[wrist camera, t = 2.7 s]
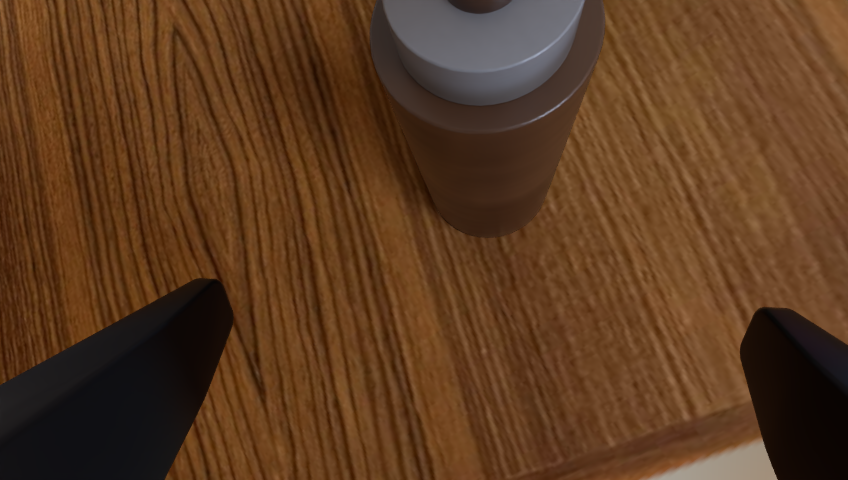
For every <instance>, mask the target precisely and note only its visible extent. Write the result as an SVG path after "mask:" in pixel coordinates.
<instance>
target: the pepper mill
mask: <svg viewBox="0 0 848 480" xmlns="http://www.w3.org/2000/svg"><path fill="white" fill-rule="evenodd" d="M604 34H605V13H604V4H603V1H602V0H377V1H376V4H375V7H374V11H373V15H372V19H371V26H370V48H371V55H372V59H373V63H374V66H375V69H376V72H377V74H378V76H379V79H380V81H381V83H382V86H383V88H384V90H385V92H386V95H387V97H388V99H389V102H390V104H391V106H392V108H393V111H394V113H395V115H396V117H397V120H398V122H399V124H400V127H401V129H402V131H403V133H404V136H405V138H406V140H407V143H408V145H409V147H410V149H411V152H412V154H413V156H414V158H415V161H416V163H417V165H418V168H419V170H420V172H421V174H422V177H423V179H424V181H425V184H426V186H427V188H428V190H429V193H430V195H431V197H432V199H433V202H434V204H435V206H436V208H437V210H438V211H439V213H440V214H441V216H442V217H443V218H444V219H445V220H446V221H447V222H448V223H449V224H450V225H451V226H453V227H454V228H456V229H457V230H459V231H461V232H463V233H466V234H469V235H472V236H477V237H485V238H491V237H499V236H504V235H507V234H510V233H513V232H515V231H517V230H519V229H520V228H522V227H523V226H525V225H526V224H527V223H528V222H530V221H531V220H532V219H533V218H534V216H535V215H536V214H537V213H538V211H539V210H540V208H541V206H542V204H543V202H544V200H545V197H546V195H547V192H548V189H549V187H550V184H551V181H552V179H553V176H554V173H555V171H556V168H557V166H558V163H559V160H560V158H561V155H562V152H563V150H564V147H565V144H566V142H567V139H568V137H569V134H570V131H571V129H572V126H573V123H574V121H575V118H576V115H577V113H578V110H579V107H580V105H581V102H582V100H583V97H584V94H585V92H586V89H587V86H588V84H589V81H590V78H591V76H592V73H593V71H594V68H595V65H596V63H597V60H598V57H599V54H600V51H601V48H602V44H603V39H604Z"/></svg>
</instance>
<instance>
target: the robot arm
mask: <svg viewBox="0 0 848 480" xmlns="http://www.w3.org/2000/svg"><path fill="white" fill-rule="evenodd" d="M233 320H234V316H233V310H232V308H231V305H230V302H229V300H228V297H227V294H226V291H225V289H224V286H223V284H222V283H221V282H220V281H219V280H217V279H207V278H198V279H194V280H192V281H191V282H189V283H187V284H185V285H183V286H181V287H179V288H178V289H176V290H174V291H172V292H170V293H168V294H167V295H165V296H163V297H161V298H159V299H157V300H156V301H154V302H152V303H150V304H148V305H146V306H145V307H143V308H141V309H139V310H137V311H135V312H134V313H132V314H130V315H128V316H126V317H124V318H123V319H121V320H119V321H117V322H115V323H113V324H112V325H110V326H108V327H106V328H104V329H102V330H100V331H99V332H97V333H95V334H93V335H91V336H89V337H88V338H86V339H84V340H82V341H80V342H78V343H77V344H75V345H73V346H71V347H69V348H67V349H66V350H64V351H62V352H60V353H58V354H56V355H55V356H53V357H51V358H49V359H47V360H45V361H44V362H42V363H40V364H38V365H36V366H34V367H32V368H31V369H29V370H27V371H25V372H23V373H21V374H20V375H18V376H16V377H14V378H12V379H10V380H9V381H7V382H5V383H3V384H1V385H0V480H165V478H166V476H167V474H168V472H169V470H170V468H171V466H172V464H173V462H174V460H175V458H176V456H177V454H178V452H179V450H180V448H181V446H182V444H183V442H184V440H185V438H186V436H187V434H188V432H189V430H190V428H191V426H192V424H193V422H194V420H195V418H196V416H197V414H198V412H199V409H200V407H201V405H202V403H203V401H204V399H205V396H206V394H207V392H208V389H209V387H210V384H211V381H212V379H213V376H214V373H215V371H216V368H217V365H218V363H219V360H220V357H221V355H222V352H223V349H224V347H225V344H226V341H227V339H228V336H229V334H230V331H231V328H232V325H233ZM740 358H741V362H742V366H743V370H744V373H745V377H746V380H747V384H748V388H749V391H750V395H751V399H752V402H753V406H754V410H755V413H756V417H757V420H758V424H759V428H760V431H761V435H762V438H763V441H764V445H765V448H766V451H767V453H768V456H769V459H770V461H771V464H772V467H773V469H774V472H775V474H776V477H777V479H778V480H848V345H847V344H845V343H844V342H842V341H840V340H839V339H837V338H836V337H834V336H833V335H831V334H829V333H828V332H826V331H825V330H823V329H822V328H820V327H818V326H817V325H815V324H814V323H812V322H811V321H809V320H807V319H806V318H804V317H803V316H801V315H800V314H798V313H796V312H795V311H793V310H791V309H788V308H774V307H762V308H759V309H758V310H757V311H756V312H755V313H754V315H753V317H752V320H751V322H750V324H749V326H748V329H747V331H746V333H745V336H744V338H743V340H742V343H741V346H740Z"/></svg>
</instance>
